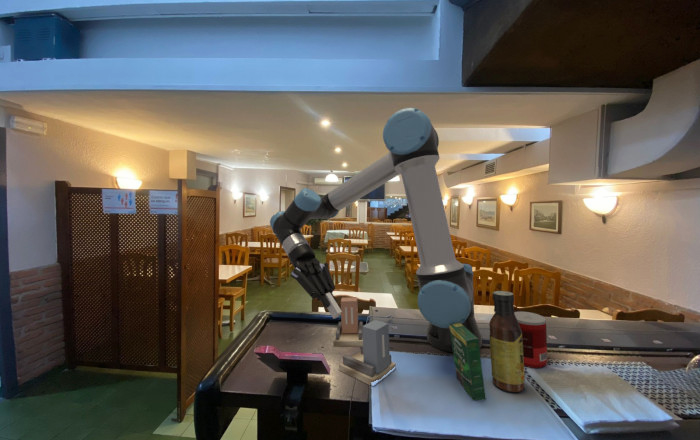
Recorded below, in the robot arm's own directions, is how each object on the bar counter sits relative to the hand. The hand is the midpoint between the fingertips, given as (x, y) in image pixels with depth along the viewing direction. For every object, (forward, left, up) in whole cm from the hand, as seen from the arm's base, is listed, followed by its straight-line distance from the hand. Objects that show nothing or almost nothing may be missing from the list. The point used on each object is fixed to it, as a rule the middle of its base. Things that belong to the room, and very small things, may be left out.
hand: (337, 315), depth 74 cm
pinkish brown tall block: (+2, -13, -9) cm, 16 cm away
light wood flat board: (-4, -4, -11) cm, 13 cm away
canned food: (-46, -15, -12) cm, 50 cm away
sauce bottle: (-40, -2, -11) cm, 42 cm away
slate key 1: (-12, +4, -9) cm, 16 cm away
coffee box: (-32, +2, -12) cm, 35 cm away
